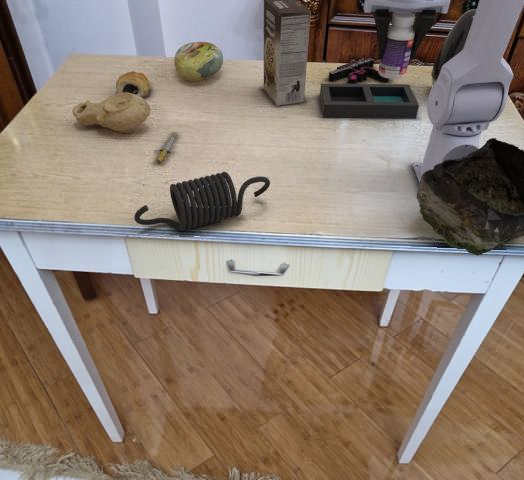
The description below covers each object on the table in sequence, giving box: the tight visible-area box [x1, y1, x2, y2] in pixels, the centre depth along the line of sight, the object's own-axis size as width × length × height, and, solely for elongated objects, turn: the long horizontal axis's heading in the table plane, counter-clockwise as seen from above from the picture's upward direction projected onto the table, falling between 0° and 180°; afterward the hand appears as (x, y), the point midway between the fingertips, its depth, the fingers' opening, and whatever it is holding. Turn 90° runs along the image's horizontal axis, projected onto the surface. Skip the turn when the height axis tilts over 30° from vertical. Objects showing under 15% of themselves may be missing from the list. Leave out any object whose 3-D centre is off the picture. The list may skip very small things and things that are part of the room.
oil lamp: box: [71, 92, 152, 134], centre depth 86 cm, size 11×14×5 cm
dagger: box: [156, 136, 175, 164], centre depth 83 cm, size 11×1×2 cm
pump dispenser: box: [430, 8, 477, 86], centre depth 92 cm, size 10×10×15 cm
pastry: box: [115, 70, 150, 98], centre depth 97 cm, size 9×7×4 cm
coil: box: [133, 171, 271, 232], centre depth 67 cm, size 7×20×9 cm
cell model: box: [173, 41, 224, 82], centre depth 103 cm, size 11×8×15 cm
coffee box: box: [263, 0, 312, 107], centre depth 92 cm, size 9×6×16 cm
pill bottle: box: [377, 12, 416, 80], centre depth 86 cm, size 5×5×10 cm
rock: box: [415, 137, 524, 257], centre depth 65 cm, size 18×20×10 cm
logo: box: [328, 58, 390, 84], centre depth 103 cm, size 13×2×10 cm
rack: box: [319, 82, 420, 119], centre depth 94 cm, size 10×18×2 cm, turn 89°
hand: (395, 57), depth 87 cm, fingers closed on pill bottle, 5 cm apart
